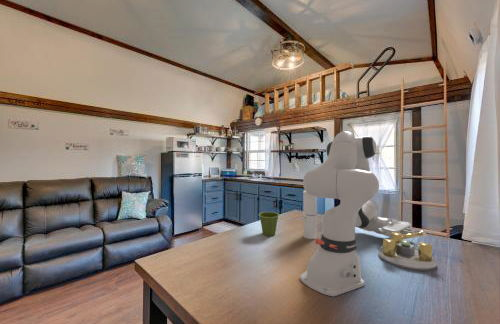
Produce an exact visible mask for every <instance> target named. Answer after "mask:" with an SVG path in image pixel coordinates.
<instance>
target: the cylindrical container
mask: <svg viewBox="0 0 500 324" xmlns="http://www.w3.org/2000/svg"><path fill="white" fill-rule="evenodd" d="M302 193H303V194H302V198H303V200H302V201H303V203H302V211H303V215H302V216H303V219H302V222H303V225H302V227H303V230H302V235H303V238H304V239H308V240H314V239H315V240H316V239H317V238H318V230H317V229H318V225H317V224H318V214H317V213H318V206H317V205H318V197H316V196H312V195H309V194H308V193H307V192H306V191H305V190H303V191H302Z"/></svg>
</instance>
